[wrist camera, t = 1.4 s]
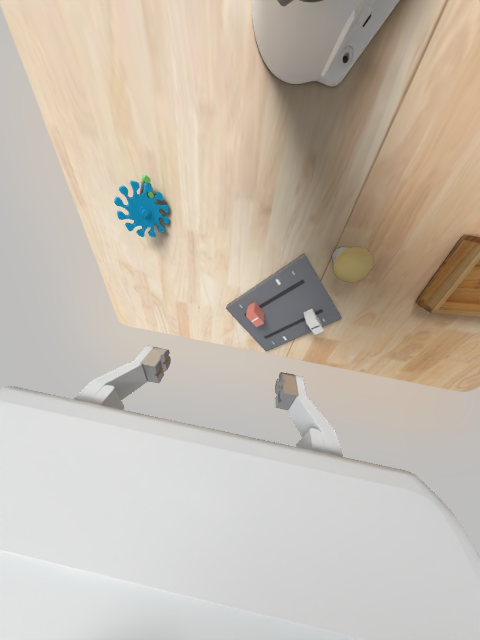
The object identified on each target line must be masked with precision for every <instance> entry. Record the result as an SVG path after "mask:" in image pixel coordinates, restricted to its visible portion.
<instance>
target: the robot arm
mask: <svg viewBox="0 0 480 640" xmlns="http://www.w3.org/2000/svg"><path fill="white" fill-rule="evenodd" d="M399 1H400V0H252V18H253V27H254V33H255V37H256V41H257V45H258V48H259V51H260V53H261V56H262V58H263V60H264V62H265V64H266V65H267V67H268V68H269V70H270V71H271V72H272V73H273V74H274V75H275V76H276V77H277V78H279V79H280V80H282V81H284V82H287V83H291V84H302V83H306V82H311V81H318V82H320V83H323V84H325V85H327V86H337V85H338V84H339V83H340V82H341V81H342V80H343V79H344V77H345V76H346V74H347V73H348V72H349V70H350V69H351V67H352V66H353V65H354V63H355V62H356V61H357V59H358V58H359V56H360V55H361V54H362V52H363V51H364V49H365V48H366V47H367V45H368V44H369V42H370V41H371V40H372V38H373V37H374V36H375V34H376V33H377V31H378V30H379V29H380V27H381V26H382V24H383V23H384V22H385V20H386V19H387V18H388V16H389V15H390V13H391V12H392V11H393V9H394V8H395V6H396V5H397V4H398V2H399ZM344 56H347V57H348V61H347V63H343V57H344ZM168 355H169V350H166V349H162V348H158V347H153V346H149V345H148V346H146V347H145V348H144V349H143V350H142V352H141V353H140V354H139V355H138V356H137V357H136V359H135V360H134V361H133V362H130V363H127V364H125V365H123V366H121V367H119V368H117V369H115V370H113V371H111V372H109V373H107V374H105V375H103V376H100V377H99V378H96V379H94V380H92V381H91V382H90V383H89V384H88V385H87V386H86V387H85V388H84V389H83V390H82V391H81V392H80V393H79V394H78V395H77V396H76V397H75V398H74V399H69V398H65V397H60V396H56V395H51V394H46V393H42V392H37V391H32V390H28V389H23V388H18V387H12V386H11V387H4V388H0V640H480V556H479V555H478V553H477V551H476V549H475V548H474V546H473V544H472V542H471V541H470V539H469V537H468V535H467V534H466V532H465V530H464V529H463V527H462V525H461V524H460V522H459V521H458V519H457V518H456V516H455V515H454V514H453V512H452V511H451V510H450V509H449V508H448V507H447V506H446V504H444V502H442V500H441V499H440V498H439V497H438V496H437V495H436V494H435V493H434V492H433V491H432V490H430V488H429V487H428V486H427V485H426V484H425V483H424V482H423V481H421V480H420V479H419V478H418V477H417V476H416V475H414V474H413V473H411V472H408V471H405V470H401V469H396V468H391V467H386V466H382V465H377V464H373V463H368V462H363V461H359V460H354V459H349V458H345V457H343V455H342V452H341V448H340V445H339V442H338V438H337V435H336V432H335V431H334V429H333V428H332V427H331V426H330V424H329V423H328V422H327V421H326V419H325V418H324V417H323V416H322V414H321V413H320V412H319V410H318V409H317V408H316V407H315V405H314V404H313V403H312V401H311V400H310V399H308V398H307V394H306V390H305V385H304V380H303V377H301V376H297V375H293V374H287V373H282V372H281V373H280V374H279V379H277V381H276V385H275V393H276V394H277V396H276V408H280V409H284V410H288V412H289V414H290V416H291V418H292V419H293V421H294V423H295V425H296V427H297V428H298V430H299V432H300V434H301V436H302V439H301V440H300V441H299V442H298V443H297V444H296V447H293V446H289V445H284V444H279V443H275V442H270V441H265V440H260V439H256V438H251V437H247V436H242V435H238V434H233V433H228V432H224V431H219V430H214V429H210V428H205V427H200V426H195V425H191V424H186V423H181V422H177V421H172V420H168V419H163V418H158V417H153V416H149V415H144V414H140V413H135V412H130V411H125V410H123V409H124V405H123V403H122V401H121V400H122V399H124V398H125V397H126V396H128V395H129V394H131V393H132V392H134V391H135V390H136V389H138V388H139V387H141V386H142V385H143V384H145V383H146V382H147V381H149V382H155V383H159V382H160V381H161V379H162V377H163V376H164V373H163V372H165V371H166V370H167V369H168V367H169V365H170V361H171V359H170V357H169V356H168Z"/></svg>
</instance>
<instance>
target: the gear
mask: <svg viewBox="0 0 480 640" xmlns="http://www.w3.org/2000/svg"><path fill="white" fill-rule="evenodd" d="M142 178H143V180H141V189H140V195H138V194H137V190H138V189H139V183H138V182H136V181H130V184H131V186H132V188H133V197H132V198H130V197H128V189H127V188H126V187H125V186H121V187H119V190H120V192H121V193H122V194H124V195H125V197H126V198H127V200H128V205H124V204H123V202H122V200H121V199H120V198H119V197H116V198H115V200H114V203H115V204H116V205H117V206H121V207H124V208H125V209H126V210H128V211H129V214H128V215H125V214H124V213H123V212H121V211H117V215H118V218H119V219H121V220H123V219H132V220H134V223H133V224H130V223H126V224H125V225H126V227H127V229H128V230H129V231H132V230H133V229H134V228H135V227H136V226H142V229H140V230H137V234H138V235H139V236H141V237H144V232H145V230H146V229H147V228H148V227H151V230H150V231H149V232H148V234H149V236H151V237H155V236H156V234H155V232H154V225H155V224H158V231H159V232H160V233H161V232H163V231H165V229H164V228H163V227H162V226H161V225H160V223H159V218H160V217H162V219H163V222H164V223H166V224H167V223H168V222H169V218H168V217H166V216H163V215H161V214H160V213H159V209H160V208H162V209H163V210H164V211H165V212H168V211H169V207H168V206H167V205H166V204H164V205H157V204H155V200H156V199H158V200H160V201H162V200H163V196H162V194H161V193H160V192H157V193H156V194H155V195H154V194H153V193H152V192H151V191H152V190H153V188H152V187H151V184H150V178H149V177H148V176H146V175H143V176H142Z"/></svg>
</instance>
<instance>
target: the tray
mask: <svg viewBox="0 0 480 640" xmlns="http://www.w3.org/2000/svg"><path fill="white" fill-rule="evenodd" d="M416 303H417V304H418V305H420V306H421V307H423V308H424V309H425V310H427V311H428V312H430V313H436V314H449V315H463V316H476V317H480V235H463V236H462V237H461V239H460V240H459V242H458V243H457V244H456V246H455V247H454V249H453V250H452V251H451V253H450V254H449V256H448V257H447V259H446V260H445V261H444V263H443V264H442V266H441V267H440V268H439V270H438V271H437V273H436V274H435V276H434V277H433V278H432V280H431V281H430V283H429V284H428V285H427V287H426V288H425V290H424V291H423V293H422V294H421V295H420V297H419V298H418V300H417V301H416Z"/></svg>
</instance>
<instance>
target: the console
mask: <svg viewBox="0 0 480 640" xmlns="http://www.w3.org/2000/svg"><path fill="white" fill-rule="evenodd" d="M254 302H256V303H257V305H258V306H259V307H260V308H261V309H262V311H263V312H264V324H262V325H260V326H258V327H255V325H254V324H253V323H252V322H251V321H250V320H249V319H248V318H247V316H246V313H247V308H248V306H249V305H250V304H252V303H254ZM226 309H227V310H228V311H229V312H230V313H231V314H232V315H233V316H234V317H235V319H236V320H237V321H238V322H239V323H240V324H241V325H242V326H243V327H244V328H245V329H246V330H247V331H248V332H249V334H250V335H251V336H252V337H253V338H254V339H255V340H256V341H257V342H258V343H259V344H260V345H261V346H262V348H263V349H264V350H265V351H268V350H270V349H272V348H274V347H277V346H279V345H281V344H284V343H286V342H288V341H291V340H293V339H295V338H297V337H300V336H302V335H304V334H307V333H309V332H311V331H312V330H311V329H310V328H309V326H308V325H307V323H306V320H305V316H304V312H306V311H308V310H310V309H313V310H314V312H315V314H316V315H317V317H318V318H319V320H320V322H321V324H322V327H323V326H325V325H327V324H330V323H332V322H334V321H337V320H339V319H341V318H342V317H341V316H340V314H339V312H338V311H337V309H336V307H335V305H334V304H333V302H332V300H331V298H330V297H329V295H328V293H327V292H326V290H325V288H324V286H323V285H322V283H321V281H320V280H319V278H318V276H317V274H316V273H315V271H314V269H313V267H312V266H311V264H310V262H309V261H308V259H307V257H306V255H305V254H303V255H301V256H300V257H298V258H297V259H295V260H294V261H292V262H291V263H289V264H288V265H286V266H285V267H283V268H282V269H280V270H279V271H277V272H276V273H274V274H273V275H271V276H270V277H268V278H267V279H265V280H264V281H262V282H261V283H259V284H258V285H256V286H255V287H253V288H252V289H250V290H249V291H247V292H246V293H244V294H243V295H241V296H240V297H238V298H237V299H235V300H234V301H232V302H231V303H229V304H228V305H227V307H226Z"/></svg>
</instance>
